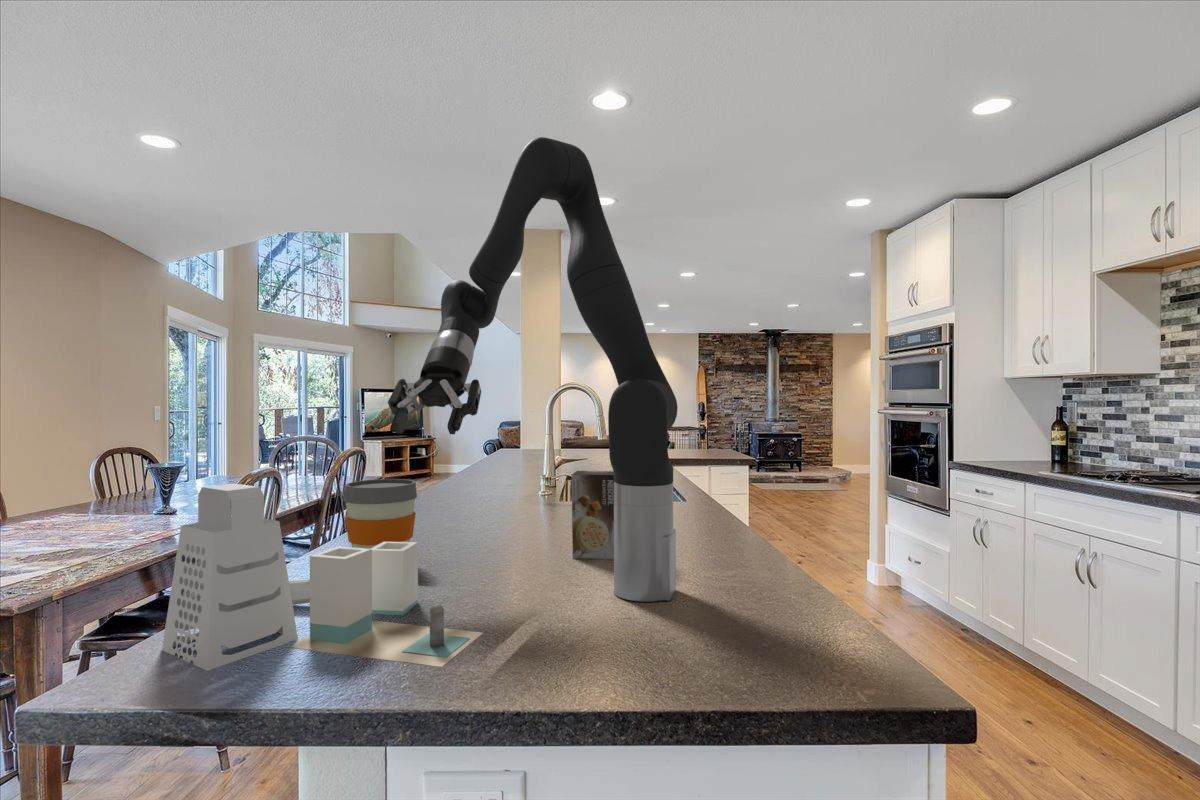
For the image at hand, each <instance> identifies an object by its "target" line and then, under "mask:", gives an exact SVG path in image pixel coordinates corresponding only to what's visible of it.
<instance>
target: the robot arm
mask: <svg viewBox="0 0 1200 800" xmlns="http://www.w3.org/2000/svg"><path fill="white" fill-rule="evenodd" d="M541 199H545V200H551V201H556V202H557V203H558V204H559V206H560V208H561V209H562V213H563V215H564V217H565V219H566V222H567V225H568V229H569V235H570V242H569V243H570V245H569V249H568V250H569V251H568V256H567V265H566V266H567V267H566V274H567V281H568V284H569V287H570V291H571V293H572V295H573V296H572V297H573V298H574V301H575V304H576V307H577V309H578V311H579V313H580V316H581V318H582V319H583V321H584V323H585V325H586V326H587V328H588V330H589V331H590V332H591V335H592V336H593V338H594V339H595V341H596V342H597V343H598V345H599V346H600V347H601V349H602V351H603V352H604V354H605V355H606V356H607V357H606V358H608V360H609V362H610V365H611V367H612V370H613V372H614V376H615V378H616V381H617V385H618V386H617V387H616V388H615V389H614V391H613V393H612V395H611V397H610V400H609V402H608V403H609V404H608V412H607V413H608V414H607V415H608V416H607V425H608V426H607V428H608V451H609V452H608V453H609V460H610V465H611V468H612V471H613V472H614V560H613V592H614V594H615V596H616V597H618V598H621V599H624V600H628V601H634V602H658V601H671V600H672V597H673V595H674V593H675V592H676V589H677V556H676V555H677V552H676V551H677V545H676V543H677V537H676V536H677V534H676V529H675V528H674V467H673V464H672V462H671V461H670V457H669V450H668V448H669V447H668V431H669V430H670V429H671V428H672V427H673V425H674V423H675V421H676V420H677V416H678V401H677V398H676V395H675V392H674V390H673V389H672V387H671V385H670V383H669V381H668V379H667V377H666V375H665V373H664V371H663V369H662V368H661V365H660V363H659V361H658V359H657V357H656V355H655V353H654V351H653V348H652V345H651V343H650V340H649V337H648V333H647V330H646V328H645V324H644V321H643V317H642V315H641V312H640V308H639V306H638V303H637V300H636V298H635V295H634V292H633V288H632V286H631V283H630V280H629V278H628V276H627V275H628V274H627V272H626V270H625V267H624V264H623V263H622V259H621V257H620V255H619V253H618V250H617V248H616V245H615V241H614V239H613V236H612V232H611V231H610V228H609V225H608V222H607V220H606V217H605V213H604V211H603V207H602V204H601V199H600V196H599V192H598V188H597V184H596V180H595V176H594V173H593V170H592V166H591V164H590V160H589V159H588V157H587V155H586V154H585V152H584V151H582V149H581V148H579V147H577V145H574V144H571V143H567V142H564V141H560V140H557V139H554V138H553V139H552V138H549V137H543V136H541V137H539V136H538V137H535V138H533V139H531V140H530V141H529V142H528V143H527V144H526V145H525V146H524V148H523V149H522V151H521V153H520V155H519V157H518V159H517V161H516V164H515V165H514V169H513V171H512V174H511V177H510V178H509V182H508V185H507V187H506V190H505V192H504V195H503V197H502V200H501V204H500V206H499V208H498V212H497V214H496V217H495V220H494V223H493V224H492V227H491V229H490V231H489V233H488V235H487V237H486V239H485V240H484V243H483V244H482V246H481V247H480V249H479V250H478V252H477V254H476V256H475V257H474V259H473V261H472V262H471V264H470V266H469V268H468V275H469V277H470V279H471V280H472V282H473V283H474V284H475V285H476V286H477V287H476V286H474V285H472V284H471V283H469V282H467V281H465V280H462V279H455V280H453V281H451V282H450V283H448V284H447V285H446V287H444V290H443V292H442V296H441V300H440V301H441V302H440V312H441V313H440V314H441V319H440V320H441V321H440V327H439V329H438V332H437V335H436V336H435V338H434V340H433V342H432V343H431V345H430V347H429V350H428V352H427V355H426V358H425V360H424V363H423V366H422V368H421V371H420V375H419V378H418V380H416V381H415V382H407V381H406V379H404V378H400V379H398V381H397V383H396V385H395V387H394V389H393V391H392V393H391V395H390V397H389V398H388V401H387V404H388V407H389V408H390V411H391V414H392V415H394V416H393V418H392V422H391V425H392V426H393V428H394V431H395V432H396V434H403V433H404V431H405V428H406V425H407V423H408V420H409V416H411V415H412V414H413V413H414V412H420V411H421V410H423V409H424V408H425V407H427V408H433V407H440V408H446V406H449V407H450V408H451V412H450V416H449V419H448V423H447V426H446V427H447V431H448V433H449V435H455V434H456V432H458V431H460V429H461V426H462V423H463V421H464V418H466V416H468V415H470V416H476V415H477V414H478V409H479V405H480V400H481V396H482V388H481V385H480V381H479V379H473V380H472V381H470V383H466V381H467V378H468V376H469V372H470V370H471V367H472V365H473V359H474V355H475V354H474V353H475V349H476V346H477V344H478V343H477V342H478V340H479V336H480V330H481V329H484V328H487V327H488V326H490V325H491V324H492V322H493V321H494V319H495V317H496V313H497V308H498V303H499V300H500V296H501V294H502V291H503V289H504V287H505V285H506V284H507V282H508V280H509V278H510V277H511V276H512V274H513V272H514V270H515V269H516V268H517V266H518V264H519V262H520V260H521V258H522V255H523V250H524V245H525V244H524V243H525V227H526V222H527V219H528V217H529V215H530V213H532V210H533V209H534V208H535V206H536V205H537V204H538V203H539V201H541ZM465 392H466V394H467V395H468V396H467V400H466V402H465V403H463V402H462V401H461V400H460V397H461V396H462V395H464V394H465ZM417 398H418V399H419V401H418V399H417Z"/></svg>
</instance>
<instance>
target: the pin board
mask: <svg viewBox="0 0 1200 800" xmlns="http://www.w3.org/2000/svg"><path fill="white" fill-rule="evenodd" d="M429 608H430V609H429V626H428V625H427V626H425V625H415V624H406V623H398V622H389V621H379V620H372V629H371V630H369V631H368V632H366V633H364V634H362V635H361V636H359V637H357V638H356V639H354V640H352V641H350V642H349V643H347V644H340V643H332V642H324V641H316V640H310V635H308V636H305V637H304V638H301V639H300V640H298V641H295V642H294V643H293V644H290V645H289V646H287V648H288V649H289V648H290V649H295V650H296V649H297V650H304V651H310V652H311V651H314V652H320V653H327V654H335V655H343V656H349V657H359V658H368V659H374V660H375V659H376V660H382V661H392V662H398V663H406V664H414V665H421V666H422V665H423V666H430V667H437V668H438V667H439V668H442V667H444V666H446V664H447V663H449V662H450V661H452V659H454V658H455V657H457V655H459V654H460V653H461V652H463V651H464V650H465V649H466V648H467V647H469V645H471V644H472V643H473V642H474V641H475V640H477V639H478V638H479V637H480V636H482V635H483V634H484V632H480V631H473V630H463V629H452V628H445V622H444V621H445V620H444V619H445V609H444V607H443V605H442V604H441V603H440V604H439V603H435V604H433V605H432V606H431V607H429Z"/></svg>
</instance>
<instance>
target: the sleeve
mask: <svg viewBox="0 0 1200 800" xmlns="http://www.w3.org/2000/svg"><path fill="white" fill-rule="evenodd" d="M371 549H372V615H388V616H393V615H395V616H404V615H406V614H407V613H408V612H409V611H411V609H412V608H414V607H416V605H418V603H419V542H418V541H415V542H414V541H410V542H382V543H380V544H378V545H376V546H374V547H373V548H371Z"/></svg>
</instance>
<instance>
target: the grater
mask: <svg viewBox="0 0 1200 800" xmlns="http://www.w3.org/2000/svg"><path fill="white" fill-rule="evenodd" d="M197 502H198V503H197V510H198V513H197V516H198V517H197V522H195V523H194V522H193V523H187V524H183V525H180V529H179V530H180V531H179V536H178V543H177V550H176V556H175V562H174V563H175V564H174V569H173V576H172V583H171V588H170V595H169V602H168V606H167V607H168V608H167V614H166V620H165V628H164V634H163V640H162V646H161V651H163V652H165V653H167V654H169V655H172V656H175V655H176V654H177V658H180V656H182V659H183V661H185V660H186V659H187V660H188V662H187V663H191V661H192V662H193V666H195V667H198V668H201V670H202V669H203V670H204V671H206V672H207V671H210V670H214V669H216V668H219V667H222V666H224V665H228V664H230V663H233V662H237V661H239V660H240V661H241V660H242V659H245V658H247V657H250V656H254V655H256V654H259V653H262V652H266V651H268V650H271V649H274V648H276V647H279V646H282V645H285V644H288V643H290V642H294V641H296V640H298V639H299V638H298V632H297V631H298V630H297V625H296V618H295V611H294V605H292V598H291V592H290V586H289V581H290V580H289V574H288V568H287V562H286V557H285V549H284V543H283V542H284V541H283V536H282V531H281V524H280V521H279V520H275V519H270V518H269V519H268V518H265V495H264V493H263V491H262V489H261V486H257V485H246V484H241V483H234V482H233V483H225V484H217V485H216V484H215V485H209V486H202V487H201V488H200V490H199V493H198V495H197ZM183 556H184V557H185V559H184V561H183V559H182V557H183ZM187 559H189V563H188V562H187ZM193 559H195V562H193ZM198 560H200V561H198ZM200 589H203V591H201V590H200ZM182 591H185V594H184V596H182V595H181V592H182ZM189 592H190V593H189ZM192 592H195V596H194V597H192ZM198 593H199V594H200V595H198V596H197V594H198ZM197 629H198V632H196V630H197ZM191 630H193V633H191ZM178 633H179V635H178ZM277 633H279V634H281V635H279V636H278V637H277V638H276V639H274V640H271V641H268V642H266V643H262V644H260V645H256V646H254V647H251V648H248V649H247V648H246V649H245V650H242V651H239V652H236V653H232V654H223V653H222V652H223V651H222V647H225V648H228V649H233V648H236V647H240V646H242V645H245V644H248V643H252V642H255V641H257V640H260V639H263V638H266V637H269V636H271V635H275V634H277ZM193 641H195V646H194V645H193ZM188 643H189V644H188ZM180 645H181V646H180ZM178 646H180V648H181V649H180V650H179V649H178ZM174 647H175V648H174ZM184 647H186V651H185V652H184V651H183V650H184ZM189 649H191V654H190V655H189ZM194 651H196V657H194Z"/></svg>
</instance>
